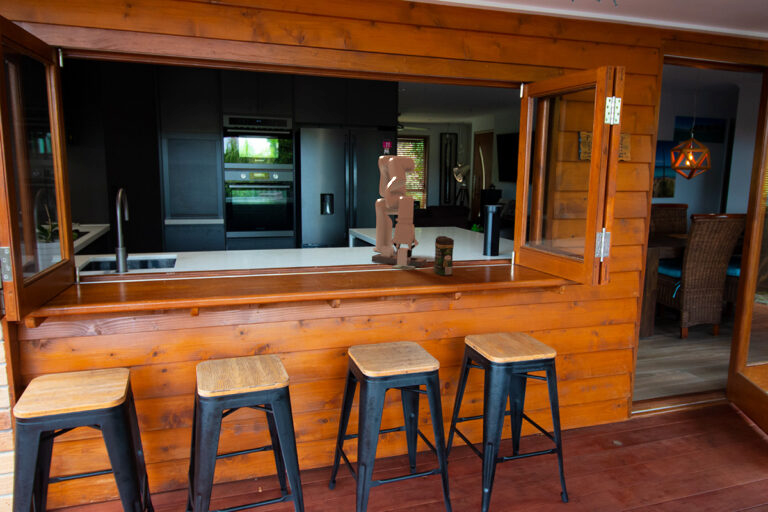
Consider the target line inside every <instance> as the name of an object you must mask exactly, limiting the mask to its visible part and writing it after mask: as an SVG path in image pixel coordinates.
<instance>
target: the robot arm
mask: <svg viewBox="0 0 768 512" xmlns="http://www.w3.org/2000/svg"><path fill="white" fill-rule="evenodd" d="M378 168H379V172H380V177H379V178H380V180H379V191H378V192H379V195H380V197H382V198H378V199H377V200H376V201H375V206H374V207H375V215H376V222H375V223H376V225H375V226H376V227H375V229H376V230H375V247H373V249H372V250H373V252H377V253H381V247H384V246H389V247H394V248H395V249H396V255H397V252H398V249H399V248H401V245H407V248H409V250H408V258H410V257H412V255H413V249H414V248H416V247H417V246H418V245H419V244H420V243H419V242H418V240H417V238H416V231H415V224H413V223H414V205H415V203H414V202H415V200H414V197H412V196H411V195H407V184H406V183H407V182H408V181H407V174H412V173H414V171H415V169H416V163H415V160H414V159H413V158H412V157H411V156H407V155H381V156H379V158H378ZM389 215H397V218H395V221H396V222H397V223H396V224H395V228H394V236H393V221H392V218H391V217H390V216H389Z"/></svg>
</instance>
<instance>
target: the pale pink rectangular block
mask: <svg viewBox="0 0 768 512" xmlns="http://www.w3.org/2000/svg"><path fill="white" fill-rule="evenodd" d="M408 250H409V247H400V248H399V249H398V252H397V254H396V256H397V264H398V265H406V266H407V265H409V264H410V259H411V257H412V256H411V257H410V258H408Z"/></svg>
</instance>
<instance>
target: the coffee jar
mask: <svg viewBox="0 0 768 512" xmlns="http://www.w3.org/2000/svg"><path fill="white" fill-rule="evenodd" d="M454 242H455V241H454V239H453V238H450V237H448V236H445V235H438V236H436V238H435V241H434V246H435V251H434V253H435V254H434V265H433V273H435V274H436V275H439V276H444V277H445V276H446V277H448V276H451V275H453V257H454V256H453V255H454V244H455V243H454ZM447 275H448V276H447Z"/></svg>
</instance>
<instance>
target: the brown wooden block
mask: <svg viewBox="0 0 768 512" xmlns="http://www.w3.org/2000/svg"><path fill="white" fill-rule="evenodd" d="M380 254H381V257H388V258H391V257H394V254H395V246H392V247H389V246H384V247H381V252H380Z"/></svg>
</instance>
